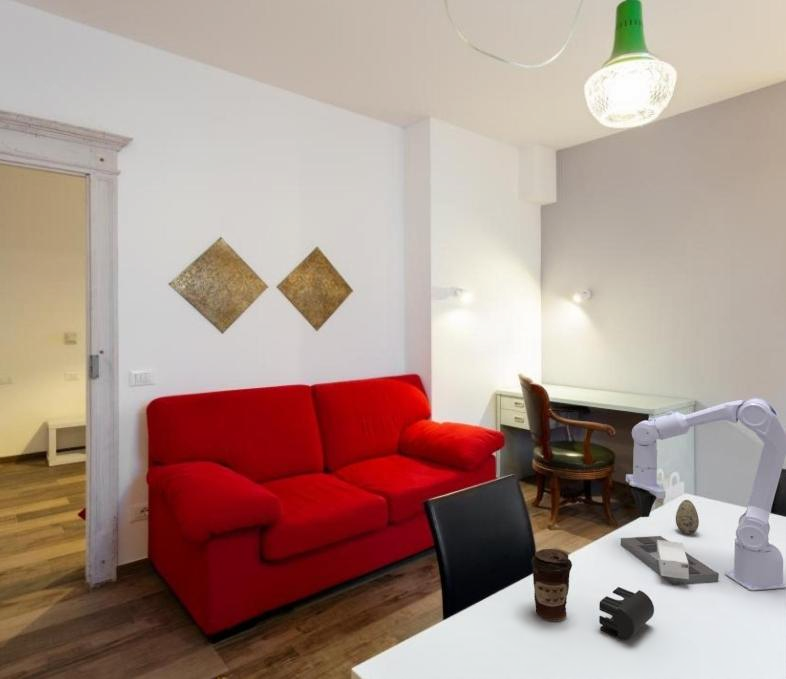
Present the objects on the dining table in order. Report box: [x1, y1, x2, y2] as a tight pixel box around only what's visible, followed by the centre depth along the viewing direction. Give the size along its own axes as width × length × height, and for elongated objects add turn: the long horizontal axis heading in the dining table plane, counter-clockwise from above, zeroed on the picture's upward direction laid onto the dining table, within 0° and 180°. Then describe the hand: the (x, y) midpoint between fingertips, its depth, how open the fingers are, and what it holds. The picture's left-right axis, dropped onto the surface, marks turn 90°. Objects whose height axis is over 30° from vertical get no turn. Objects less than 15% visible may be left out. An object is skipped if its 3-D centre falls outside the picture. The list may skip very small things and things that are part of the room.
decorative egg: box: [675, 499, 700, 535], centre depth 153 cm, size 6×6×10 cm
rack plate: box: [620, 535, 720, 586], centre depth 135 cm, size 12×22×2 cm, turn 7°
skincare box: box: [656, 540, 689, 579], centre depth 128 cm, size 6×4×12 cm
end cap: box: [598, 586, 655, 641], centre depth 105 cm, size 10×7×7 cm
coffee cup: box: [530, 548, 573, 622], centre depth 110 cm, size 9×8×13 cm
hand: (644, 516), depth 139 cm, fingers closed
